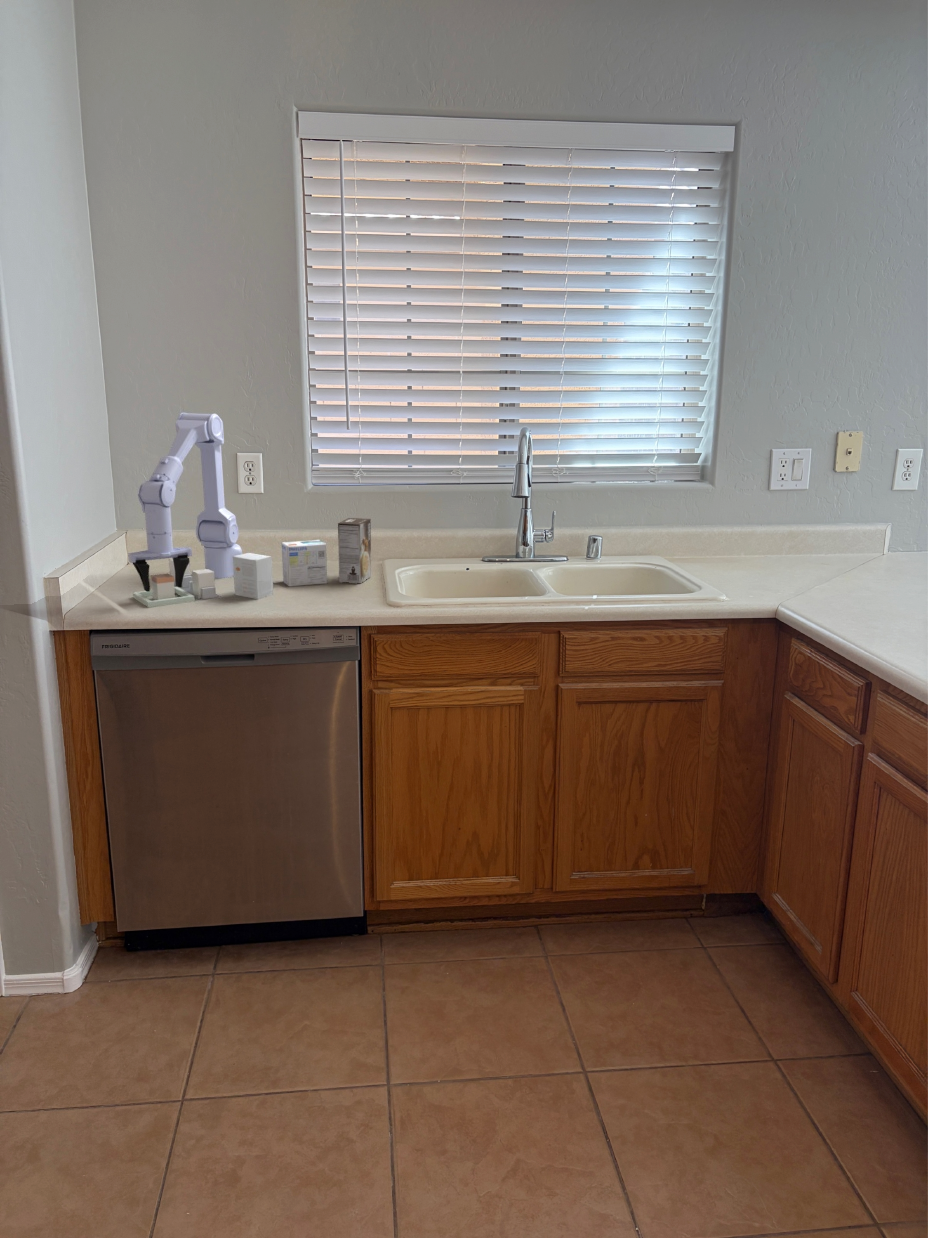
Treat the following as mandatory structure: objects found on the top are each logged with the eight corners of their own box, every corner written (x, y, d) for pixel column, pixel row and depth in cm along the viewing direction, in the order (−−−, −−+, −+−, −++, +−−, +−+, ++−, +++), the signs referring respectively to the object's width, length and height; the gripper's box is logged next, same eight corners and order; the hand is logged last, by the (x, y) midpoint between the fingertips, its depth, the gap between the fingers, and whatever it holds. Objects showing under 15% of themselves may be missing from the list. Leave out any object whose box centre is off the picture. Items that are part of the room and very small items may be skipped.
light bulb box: (320, 578, 249) (319, 538, 246) (328, 583, 243) (327, 543, 240) (281, 581, 245) (280, 541, 242) (288, 587, 239) (287, 546, 236)
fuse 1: (185, 579, 240) (184, 557, 239) (191, 582, 237) (189, 560, 235) (170, 581, 238) (168, 558, 236) (175, 584, 235) (174, 561, 233)
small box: (274, 598, 227) (272, 556, 225) (257, 602, 223) (256, 559, 220) (250, 593, 232) (249, 552, 229) (234, 597, 227) (232, 555, 224)
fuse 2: (209, 592, 228) (207, 568, 226) (215, 595, 225) (214, 571, 223) (193, 594, 226) (192, 570, 224) (199, 598, 222) (198, 573, 221)
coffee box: (349, 575, 253) (348, 517, 249) (371, 576, 252) (371, 518, 248) (338, 582, 245) (337, 522, 240) (361, 584, 243) (360, 523, 239)
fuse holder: (187, 581, 242) (186, 569, 241) (221, 599, 225) (220, 586, 224) (165, 584, 238) (164, 571, 238) (197, 603, 221) (197, 589, 220)
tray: (178, 594, 228) (177, 586, 228) (194, 604, 220) (194, 596, 219) (133, 600, 222) (132, 592, 222) (148, 610, 214) (148, 602, 213)
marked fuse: (169, 597, 224) (167, 573, 222) (175, 601, 220) (173, 576, 219) (152, 599, 221) (150, 575, 220) (158, 603, 218) (156, 578, 216)
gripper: (133, 537, 209) (137, 596, 213) (195, 532, 218) (198, 588, 221) (123, 533, 215) (128, 589, 218) (184, 527, 223) (187, 582, 227)
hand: (163, 588), depth 220 cm, fingers open, 7 cm apart
